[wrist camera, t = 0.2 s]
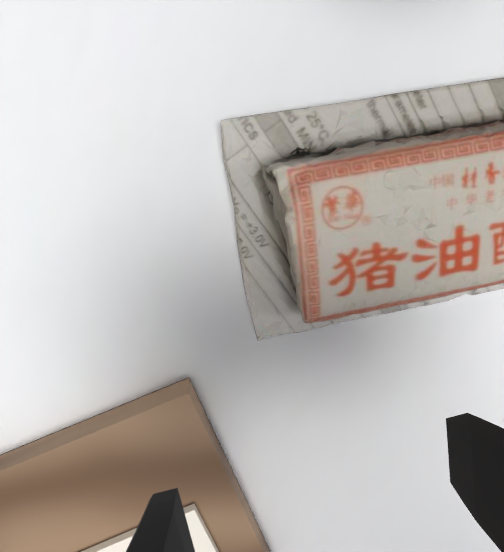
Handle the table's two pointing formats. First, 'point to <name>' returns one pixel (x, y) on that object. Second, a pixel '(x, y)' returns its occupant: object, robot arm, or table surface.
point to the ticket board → (122, 478)
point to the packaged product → (368, 204)
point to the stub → (201, 538)
